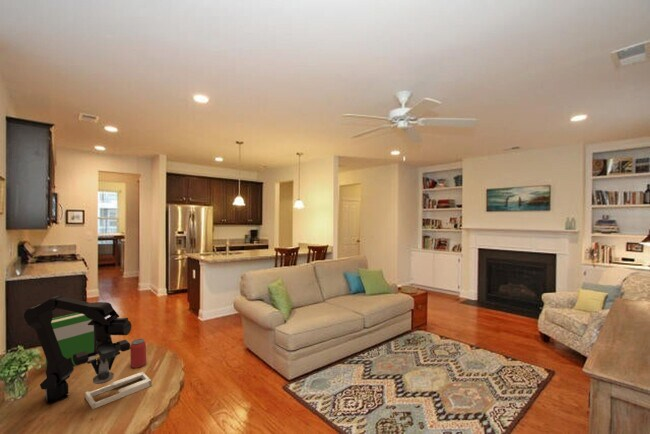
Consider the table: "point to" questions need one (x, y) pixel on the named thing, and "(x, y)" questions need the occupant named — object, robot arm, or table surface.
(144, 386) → the keyhole dock
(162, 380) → the table surface
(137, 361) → the beer can
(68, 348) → the hardback book
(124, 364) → the table surface
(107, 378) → the dark grey rounded piece
